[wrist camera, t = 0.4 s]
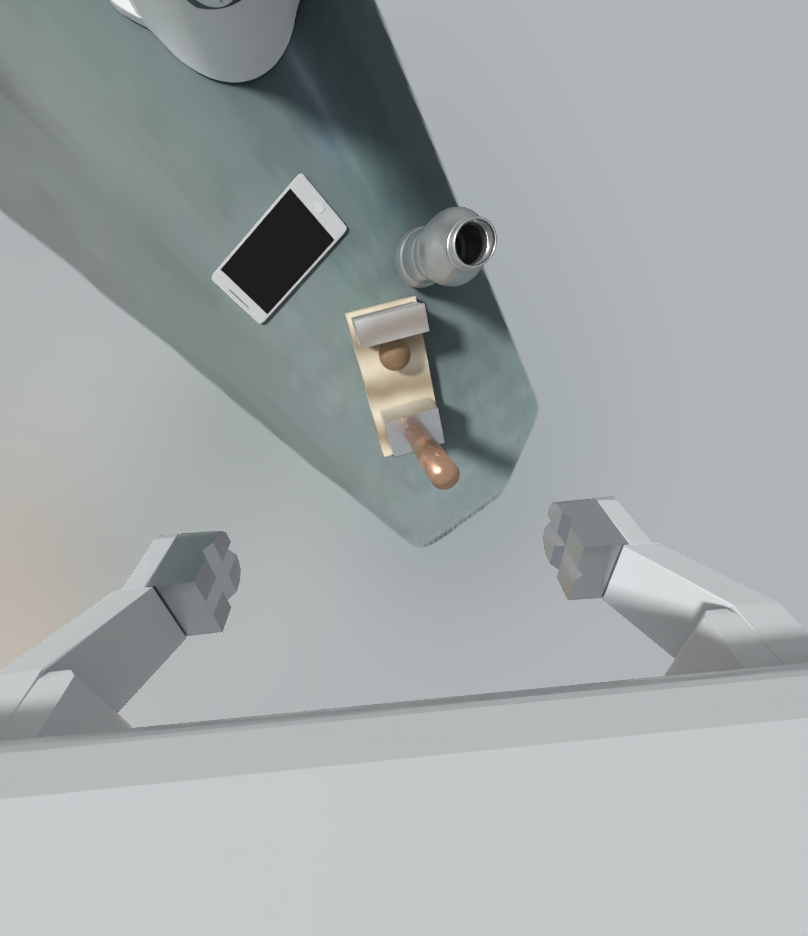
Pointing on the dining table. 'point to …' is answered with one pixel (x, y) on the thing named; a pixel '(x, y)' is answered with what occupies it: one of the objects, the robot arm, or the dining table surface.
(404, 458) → the dining table surface
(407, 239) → the plastic bottle
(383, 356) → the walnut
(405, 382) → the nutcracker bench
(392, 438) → the copper post with base
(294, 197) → the smartphone
